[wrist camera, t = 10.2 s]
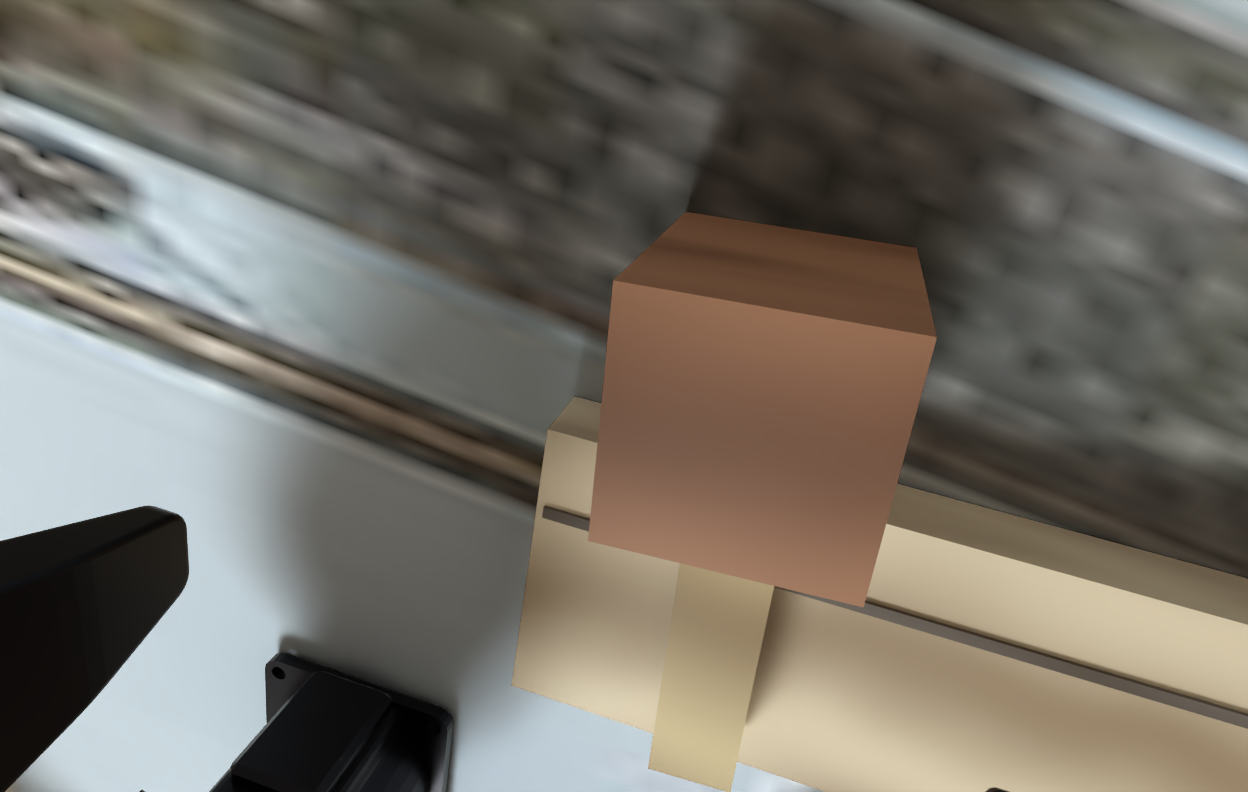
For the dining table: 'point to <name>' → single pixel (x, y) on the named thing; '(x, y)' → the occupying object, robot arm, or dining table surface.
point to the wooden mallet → (752, 443)
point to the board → (919, 651)
